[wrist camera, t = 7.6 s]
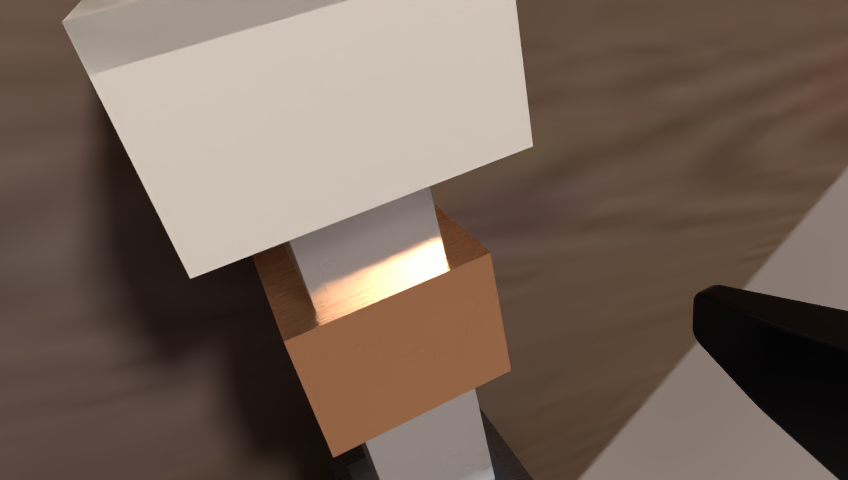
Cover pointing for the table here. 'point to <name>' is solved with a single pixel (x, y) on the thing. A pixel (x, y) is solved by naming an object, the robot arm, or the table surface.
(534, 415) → the table surface
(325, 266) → the grey and copper post
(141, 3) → the socket block
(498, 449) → the metal sleeve
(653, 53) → the table surface
